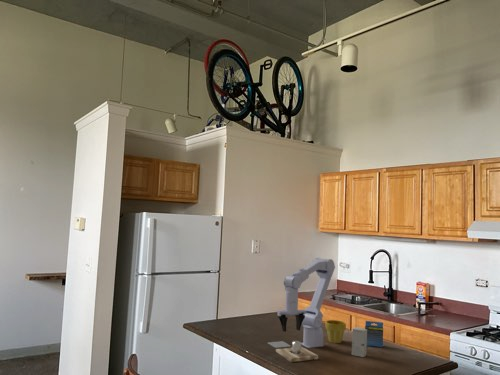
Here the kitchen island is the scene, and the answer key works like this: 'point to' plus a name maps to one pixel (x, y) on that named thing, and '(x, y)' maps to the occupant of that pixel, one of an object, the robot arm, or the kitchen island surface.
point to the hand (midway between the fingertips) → (291, 330)
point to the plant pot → (335, 330)
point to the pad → (278, 344)
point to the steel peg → (296, 347)
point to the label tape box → (374, 333)
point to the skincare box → (359, 341)
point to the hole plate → (298, 357)
